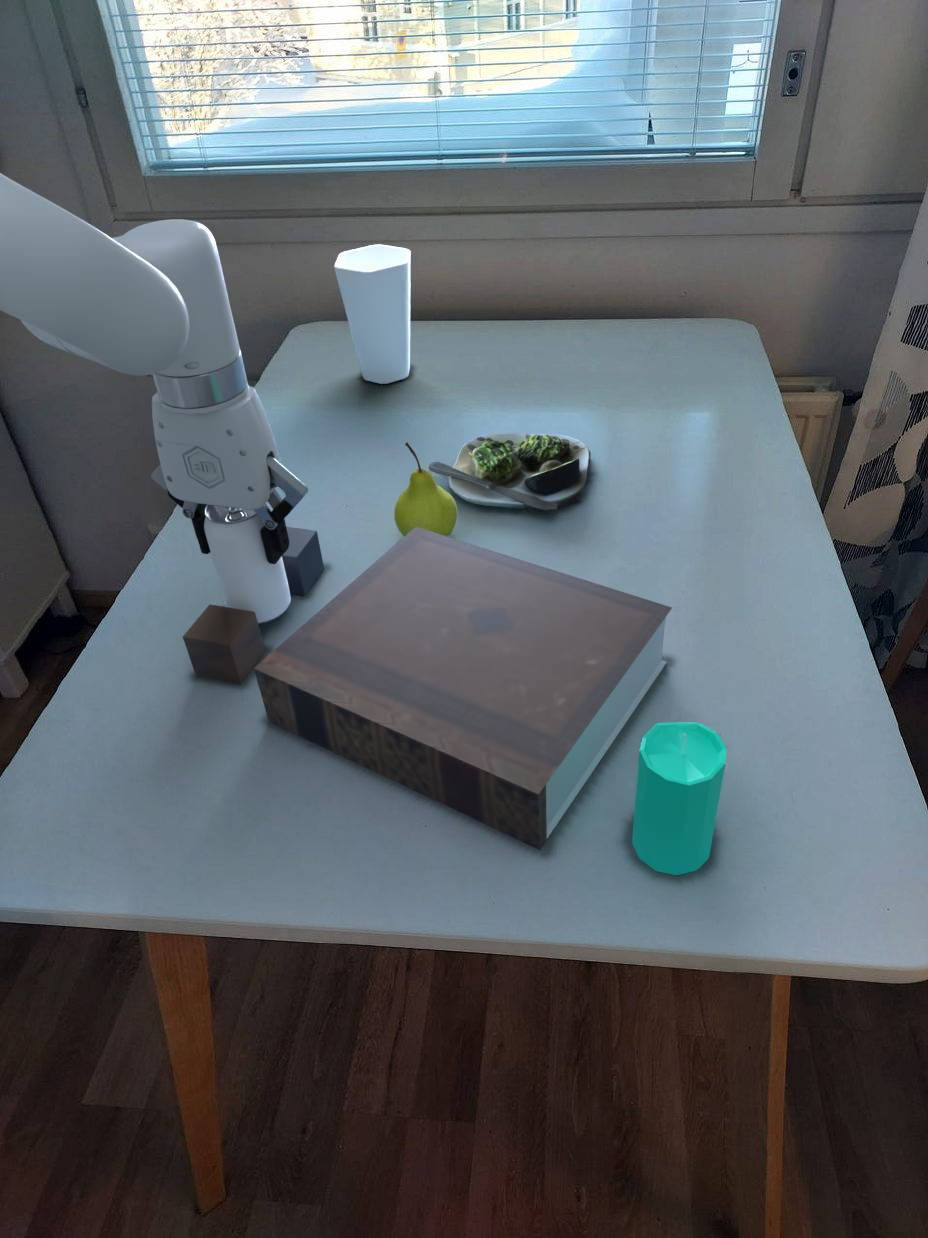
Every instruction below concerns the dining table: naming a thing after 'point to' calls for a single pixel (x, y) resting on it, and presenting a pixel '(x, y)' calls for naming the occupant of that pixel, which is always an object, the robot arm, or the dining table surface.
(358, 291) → the cup
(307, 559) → the block far
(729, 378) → the dining table surface
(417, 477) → the fruit
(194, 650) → the block near
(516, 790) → the book
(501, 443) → the salad plate
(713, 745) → the candle
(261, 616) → the can
